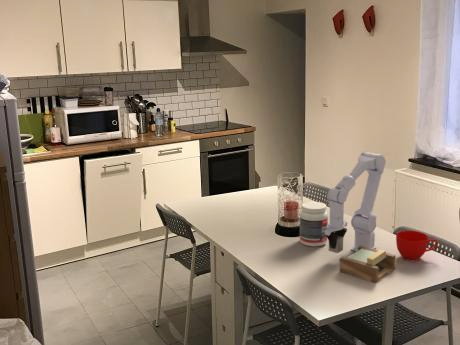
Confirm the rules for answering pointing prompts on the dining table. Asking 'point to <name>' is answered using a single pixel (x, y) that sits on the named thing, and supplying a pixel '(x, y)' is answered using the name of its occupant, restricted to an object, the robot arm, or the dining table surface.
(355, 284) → the dining table surface
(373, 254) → the trapdoor
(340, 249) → the granite block
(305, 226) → the supplement tub
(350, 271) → the frame
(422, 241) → the ceramic cup
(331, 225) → the robot arm
